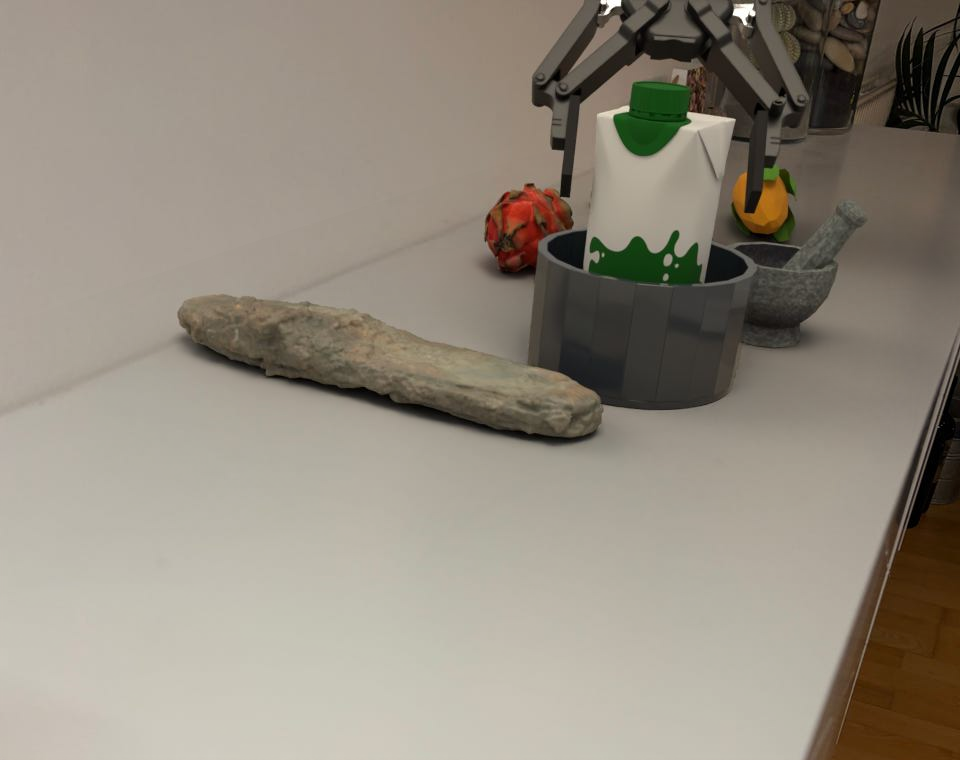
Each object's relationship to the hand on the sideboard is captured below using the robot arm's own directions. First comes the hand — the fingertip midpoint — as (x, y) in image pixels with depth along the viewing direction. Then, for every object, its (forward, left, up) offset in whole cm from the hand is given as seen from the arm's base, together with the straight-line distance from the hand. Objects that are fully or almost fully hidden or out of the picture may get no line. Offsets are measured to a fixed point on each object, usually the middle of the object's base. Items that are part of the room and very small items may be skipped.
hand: (658, 194), depth 79 cm
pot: (0, -1, -13) cm, 13 cm away
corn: (-2, -55, -14) cm, 56 cm away
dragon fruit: (+17, -24, -14) cm, 32 cm away
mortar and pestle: (-9, -16, -14) cm, 22 cm away
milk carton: (0, -1, -13) cm, 13 cm away
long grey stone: (+16, +12, -14) cm, 25 cm away
